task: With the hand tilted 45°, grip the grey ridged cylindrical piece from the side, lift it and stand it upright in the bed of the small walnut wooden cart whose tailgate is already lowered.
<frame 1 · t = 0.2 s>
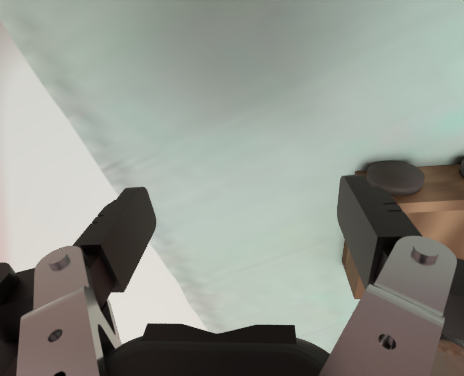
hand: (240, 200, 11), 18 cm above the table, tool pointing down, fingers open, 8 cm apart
ceramic bowl: (419, 347, 51), on the table
cart: (410, 218, 34), on the table
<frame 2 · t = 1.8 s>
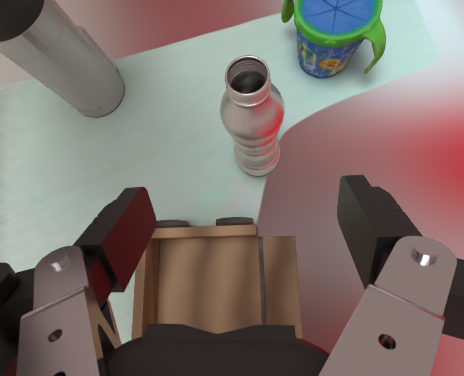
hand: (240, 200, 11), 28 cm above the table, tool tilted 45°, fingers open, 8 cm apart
cart: (206, 285, 38), on the table
grey ridged cylindrical piece: (258, 158, 41), on the table
snack cup: (322, 59, 43), on the table
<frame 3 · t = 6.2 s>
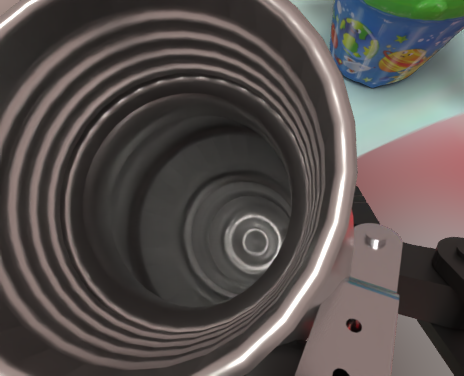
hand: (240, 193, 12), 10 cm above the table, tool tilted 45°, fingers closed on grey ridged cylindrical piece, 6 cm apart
grey ridged cylindrical piece: (255, 242, 21), on the table, touching gripper
snack cup: (372, 54, 24), on the table
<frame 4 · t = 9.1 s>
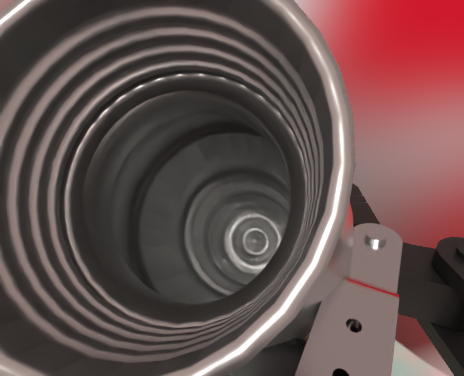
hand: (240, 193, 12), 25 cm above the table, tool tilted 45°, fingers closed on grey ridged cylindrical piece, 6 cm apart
grey ridged cylindrical piece: (255, 242, 21), point 14 cm above the table, touching gripper
when the fingers open (13 cm above the table, at t = 12.1 s): grey ridged cylindrical piece drops 1 cm, resting on cart.
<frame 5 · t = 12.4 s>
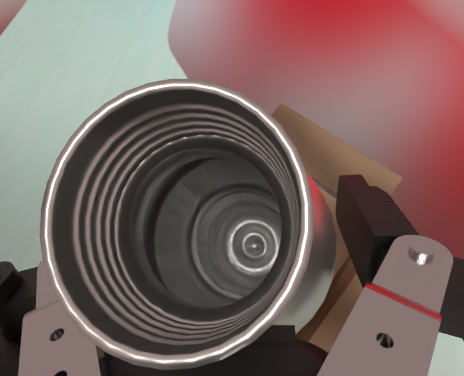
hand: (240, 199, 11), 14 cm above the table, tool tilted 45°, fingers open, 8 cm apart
cart: (254, 248, 24), on the table
grey ridged cylindrical piece: (254, 246, 23), point 1 cm above the table, touching cart
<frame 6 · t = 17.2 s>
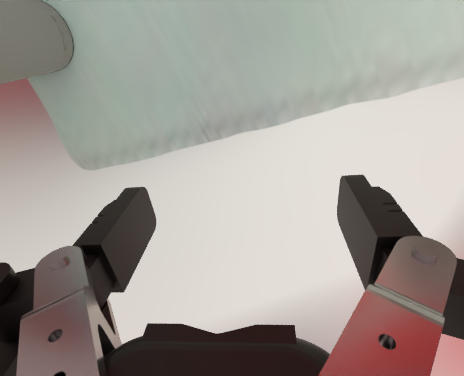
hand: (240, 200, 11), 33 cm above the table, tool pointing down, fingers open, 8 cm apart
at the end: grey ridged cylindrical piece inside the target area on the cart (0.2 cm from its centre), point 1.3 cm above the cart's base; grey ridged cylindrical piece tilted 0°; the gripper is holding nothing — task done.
